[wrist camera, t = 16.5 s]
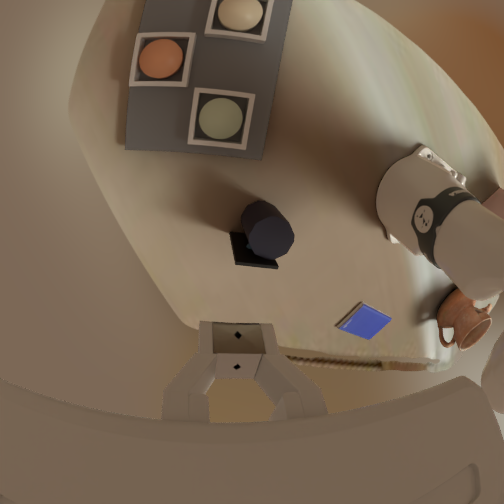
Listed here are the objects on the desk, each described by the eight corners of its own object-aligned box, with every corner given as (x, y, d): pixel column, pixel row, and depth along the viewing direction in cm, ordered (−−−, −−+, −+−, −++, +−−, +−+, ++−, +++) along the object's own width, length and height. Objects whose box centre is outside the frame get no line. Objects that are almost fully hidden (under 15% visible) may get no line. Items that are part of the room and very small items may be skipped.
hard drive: (338, 329, 56) (368, 340, 61) (364, 304, 53) (392, 319, 58) (335, 324, 58) (366, 336, 63) (361, 299, 55) (389, 314, 59)
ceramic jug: (467, 269, 55) (496, 304, 43) (475, 290, 61) (499, 322, 49) (420, 313, 61) (444, 353, 50) (434, 329, 67) (454, 363, 56)
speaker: (260, 249, 44) (272, 285, 34) (228, 233, 42) (232, 266, 32) (286, 209, 41) (307, 236, 32) (254, 191, 39) (267, 213, 30)
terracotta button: (187, 42, 24) (185, 39, 22) (180, 79, 27) (178, 78, 25) (147, 42, 23) (142, 39, 21) (141, 78, 26) (136, 78, 24)
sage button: (244, 100, 29) (245, 100, 28) (237, 138, 32) (238, 141, 30) (203, 96, 28) (201, 96, 27) (197, 134, 31) (196, 137, 29)
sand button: (263, 3, 22) (266, -2, 20) (256, 35, 24) (258, 31, 23) (222, -3, 21) (222, -8, 19) (214, 29, 24) (214, 26, 22)
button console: (289, -1, 23) (297, -10, 20) (259, 157, 36) (263, 164, 32) (154, -13, 20) (147, -23, 16) (129, 146, 32) (120, 153, 29)
